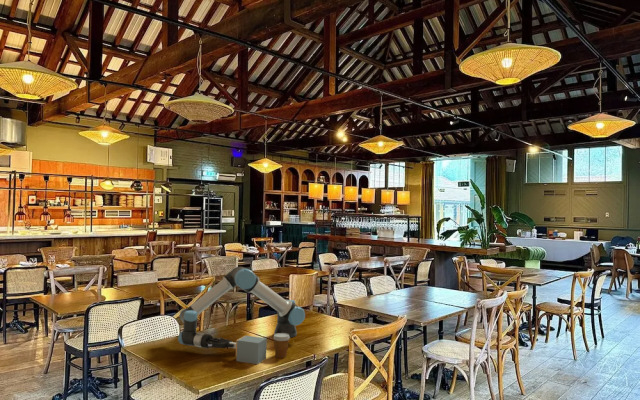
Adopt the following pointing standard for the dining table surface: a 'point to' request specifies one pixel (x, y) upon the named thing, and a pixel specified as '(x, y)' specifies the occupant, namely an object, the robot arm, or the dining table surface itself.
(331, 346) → the dining table surface
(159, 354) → the dining table surface
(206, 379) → the dining table surface
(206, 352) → the dining table surface
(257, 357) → the block
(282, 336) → the disposable coffee cup
